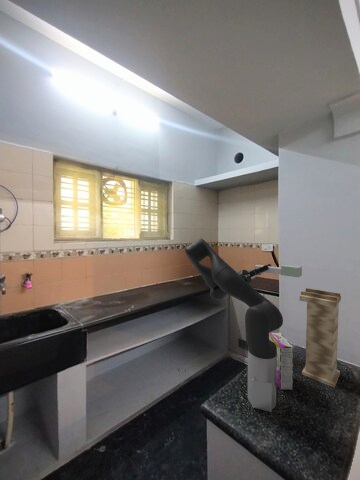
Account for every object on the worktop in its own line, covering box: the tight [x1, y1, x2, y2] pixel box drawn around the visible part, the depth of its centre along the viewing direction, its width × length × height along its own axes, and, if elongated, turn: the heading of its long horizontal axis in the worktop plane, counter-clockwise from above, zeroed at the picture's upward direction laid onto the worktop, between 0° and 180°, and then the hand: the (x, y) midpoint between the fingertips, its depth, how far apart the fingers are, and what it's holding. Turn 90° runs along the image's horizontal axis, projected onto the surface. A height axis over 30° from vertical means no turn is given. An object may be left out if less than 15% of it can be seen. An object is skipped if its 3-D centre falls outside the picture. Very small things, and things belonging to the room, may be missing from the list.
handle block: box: [254, 264, 303, 278], centre depth 100 cm, size 20×5×4 cm, turn 46°
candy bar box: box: [269, 332, 294, 391], centre depth 86 cm, size 11×5×16 cm, turn 179°
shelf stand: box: [298, 287, 342, 389], centre depth 89 cm, size 12×11×33 cm
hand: (269, 266), depth 102 cm, fingers closed on handle block, 3 cm apart
